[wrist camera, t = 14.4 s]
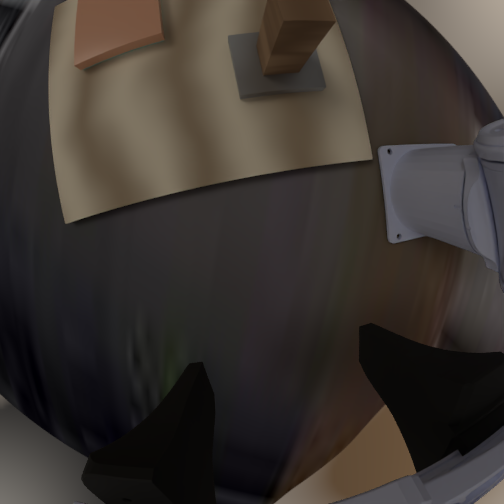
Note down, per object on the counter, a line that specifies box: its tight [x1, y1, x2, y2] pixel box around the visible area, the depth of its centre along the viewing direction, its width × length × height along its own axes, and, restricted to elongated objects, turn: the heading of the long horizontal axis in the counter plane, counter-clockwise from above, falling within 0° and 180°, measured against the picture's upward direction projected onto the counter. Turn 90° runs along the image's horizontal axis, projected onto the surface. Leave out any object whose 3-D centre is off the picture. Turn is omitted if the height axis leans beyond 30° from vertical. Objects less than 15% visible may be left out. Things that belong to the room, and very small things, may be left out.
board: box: [49, 0, 373, 224], centre depth 16 cm, size 24×22×1 cm
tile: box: [74, 0, 165, 70], centre depth 14 cm, size 7×2×8 cm
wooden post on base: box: [228, 0, 336, 99], centre depth 13 cm, size 6×5×8 cm
